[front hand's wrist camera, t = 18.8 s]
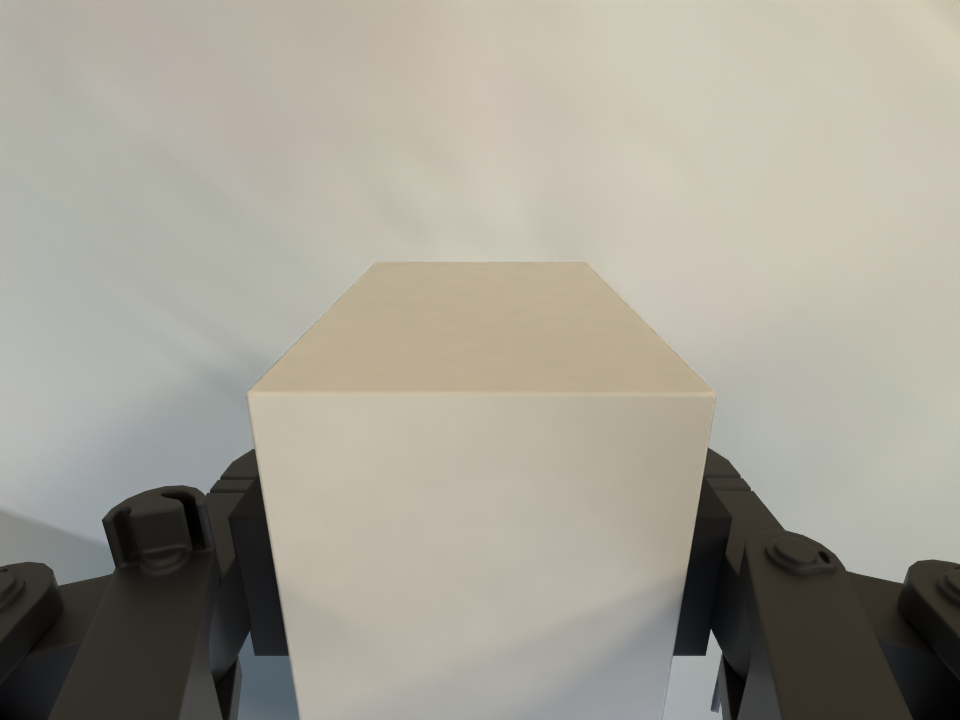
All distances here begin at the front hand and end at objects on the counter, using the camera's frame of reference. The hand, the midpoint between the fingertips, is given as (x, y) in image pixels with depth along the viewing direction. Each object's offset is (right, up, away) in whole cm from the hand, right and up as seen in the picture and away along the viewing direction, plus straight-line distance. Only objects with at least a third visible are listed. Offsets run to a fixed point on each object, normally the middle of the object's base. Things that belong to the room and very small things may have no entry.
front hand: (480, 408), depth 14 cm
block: (0, +1, +2) cm, 2 cm away
